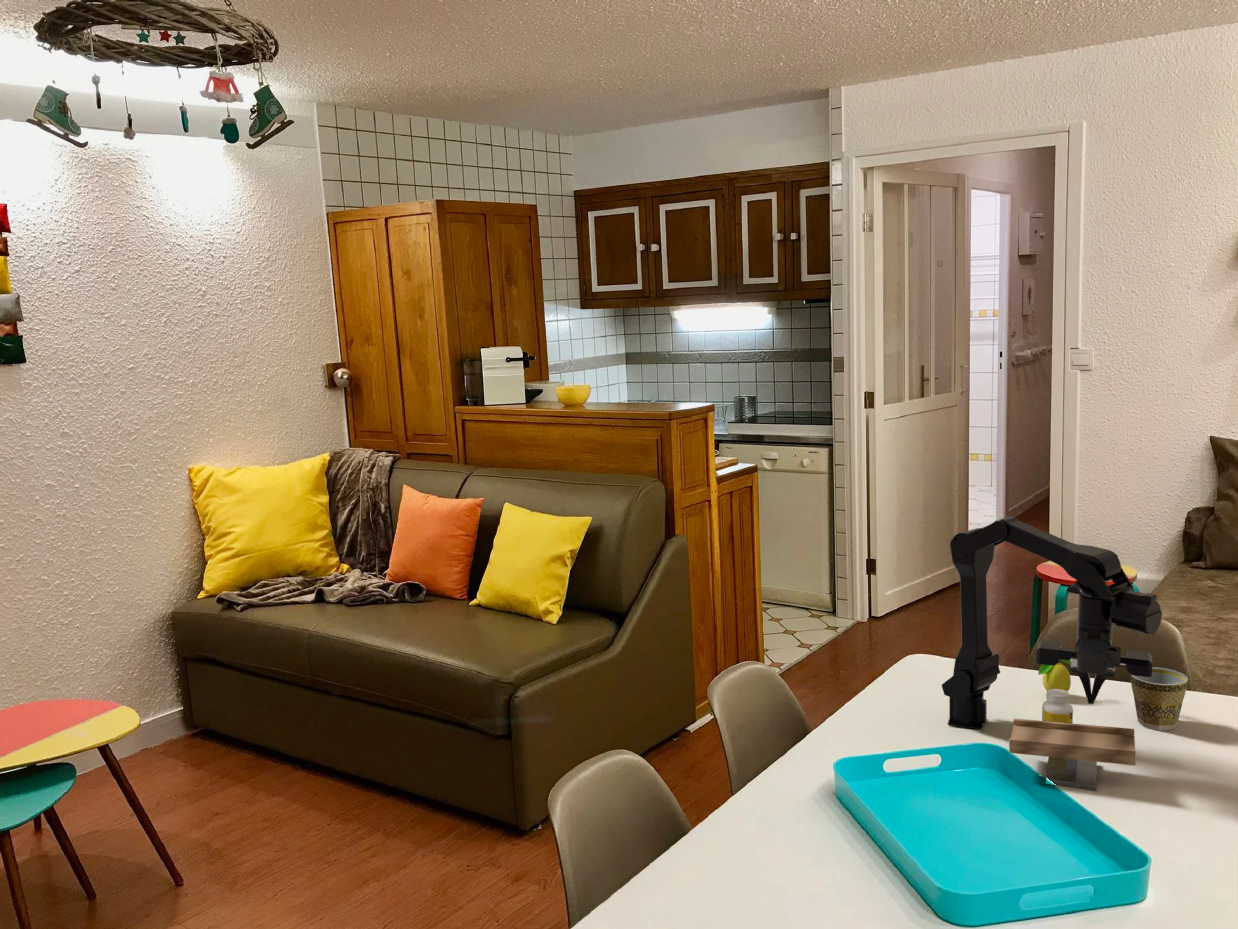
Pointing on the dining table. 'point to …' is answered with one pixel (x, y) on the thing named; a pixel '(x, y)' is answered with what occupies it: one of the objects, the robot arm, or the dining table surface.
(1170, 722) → the ceramic cup
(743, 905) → the dining table surface
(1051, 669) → the lemon
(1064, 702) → the supplement bottle
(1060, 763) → the board stand
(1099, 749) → the balance board
